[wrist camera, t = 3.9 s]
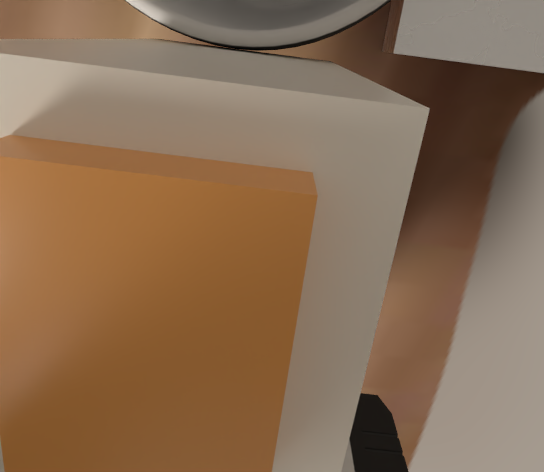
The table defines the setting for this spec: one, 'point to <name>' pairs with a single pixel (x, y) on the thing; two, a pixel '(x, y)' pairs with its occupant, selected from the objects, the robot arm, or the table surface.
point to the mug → (258, 20)
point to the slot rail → (469, 31)
